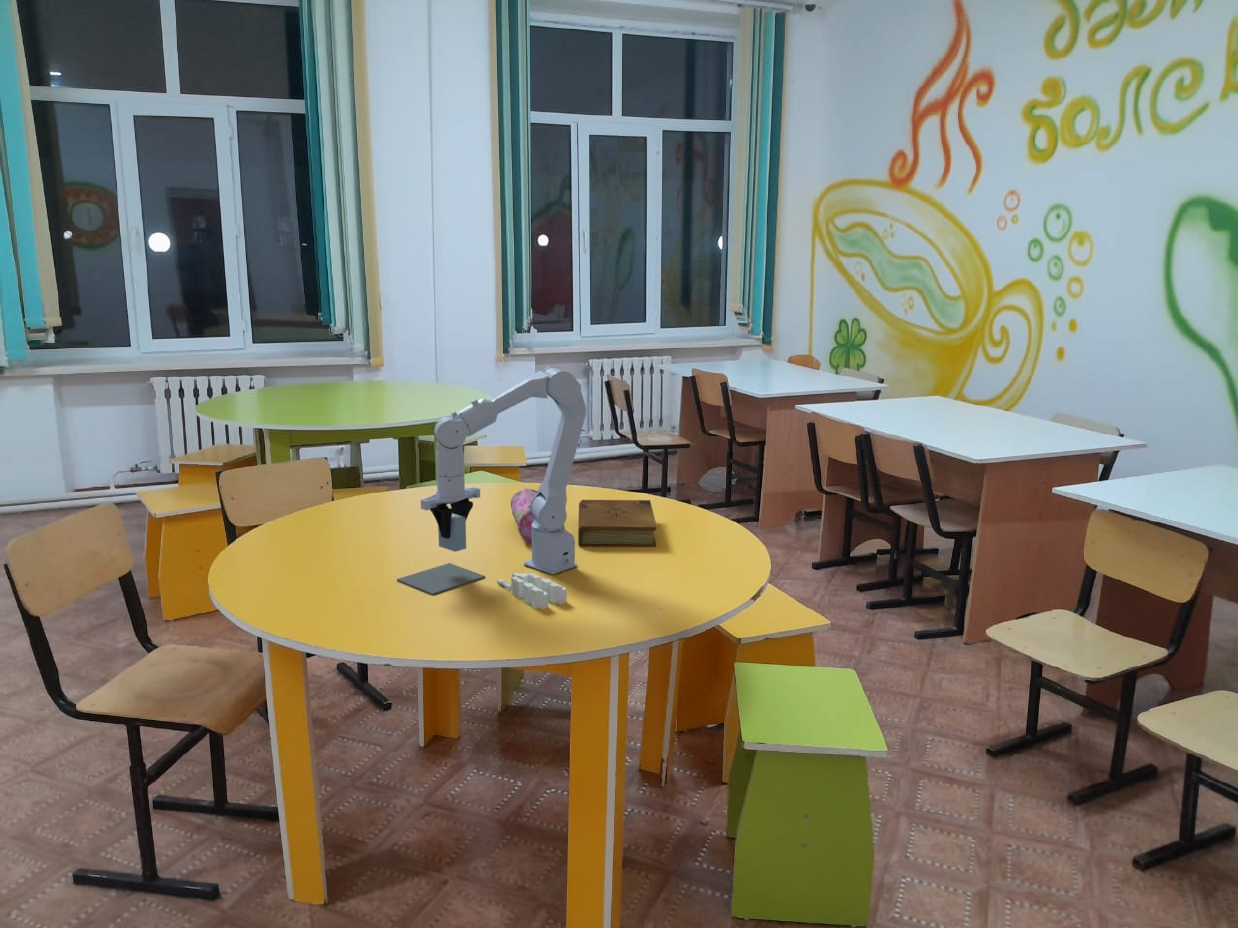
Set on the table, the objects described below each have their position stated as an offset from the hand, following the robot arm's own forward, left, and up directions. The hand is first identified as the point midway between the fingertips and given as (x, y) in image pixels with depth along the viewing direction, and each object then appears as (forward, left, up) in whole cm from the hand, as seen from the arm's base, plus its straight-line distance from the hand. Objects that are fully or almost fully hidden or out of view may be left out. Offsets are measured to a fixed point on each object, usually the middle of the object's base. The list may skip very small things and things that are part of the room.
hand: (452, 535), depth 194 cm
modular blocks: (-20, -3, -9) cm, 22 cm away
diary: (-6, -47, -9) cm, 48 cm away
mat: (-1, +4, -9) cm, 10 cm away
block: (0, 0, -3) cm, 3 cm away
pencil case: (+10, -33, -9) cm, 36 cm away
